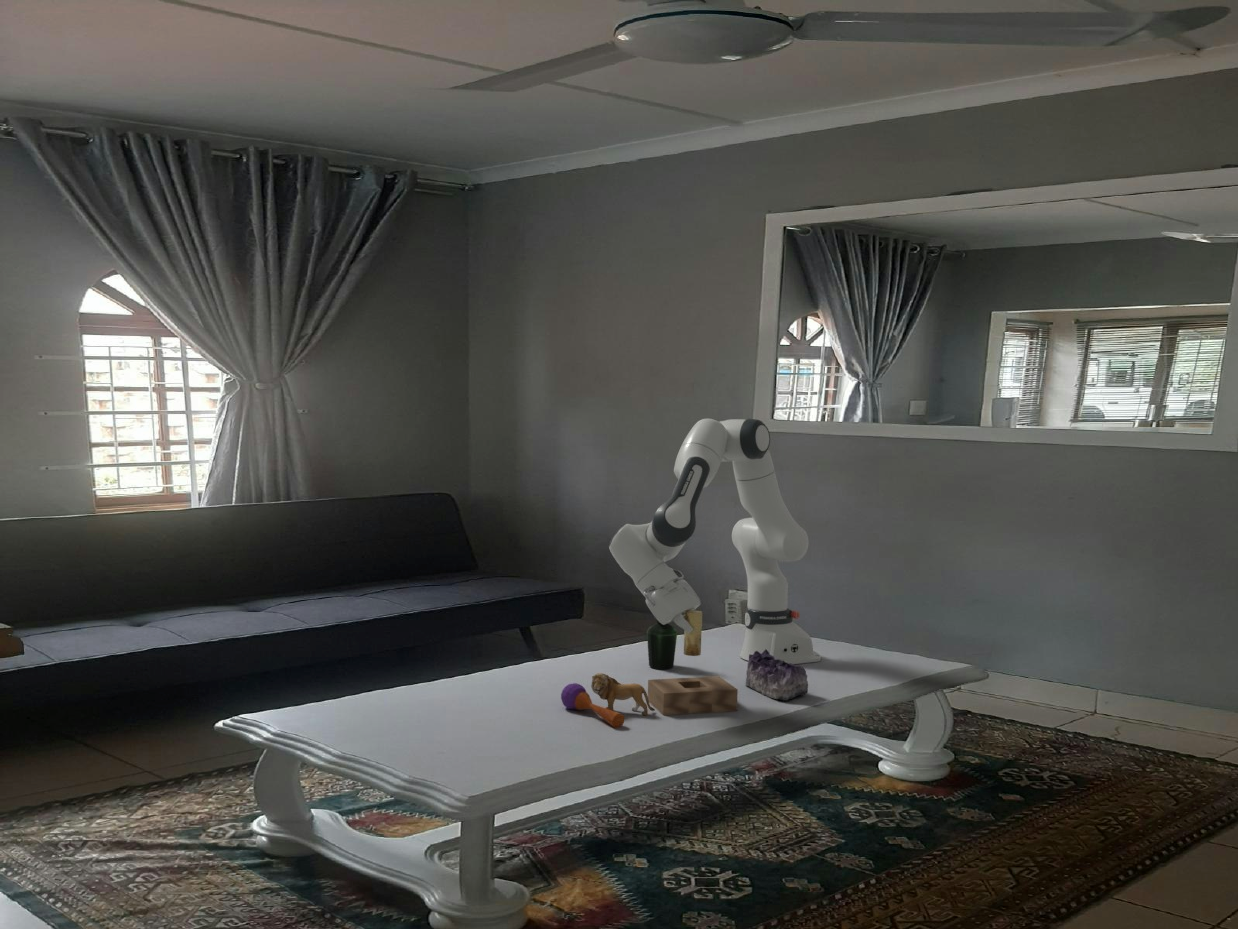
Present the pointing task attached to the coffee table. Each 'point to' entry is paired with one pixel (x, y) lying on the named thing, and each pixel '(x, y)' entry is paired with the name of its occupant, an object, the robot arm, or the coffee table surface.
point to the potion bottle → (661, 646)
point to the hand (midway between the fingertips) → (695, 629)
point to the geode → (775, 677)
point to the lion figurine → (619, 692)
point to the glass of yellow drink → (693, 633)
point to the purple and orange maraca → (588, 704)
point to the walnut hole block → (692, 695)
